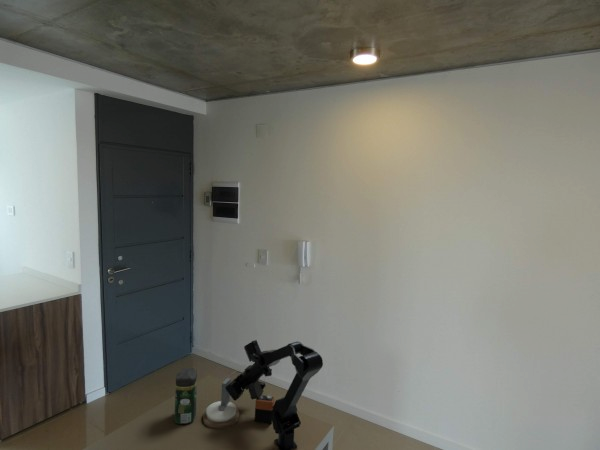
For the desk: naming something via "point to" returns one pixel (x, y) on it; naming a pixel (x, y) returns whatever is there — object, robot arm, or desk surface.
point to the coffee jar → (185, 396)
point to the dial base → (220, 424)
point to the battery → (264, 409)
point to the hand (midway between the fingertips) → (229, 392)
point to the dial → (222, 406)
